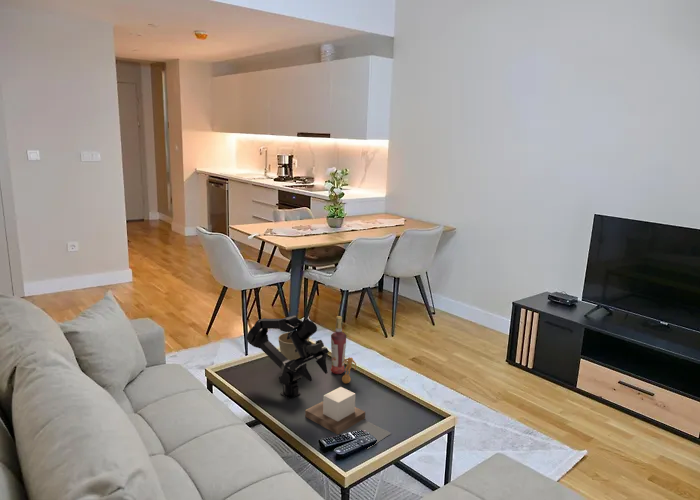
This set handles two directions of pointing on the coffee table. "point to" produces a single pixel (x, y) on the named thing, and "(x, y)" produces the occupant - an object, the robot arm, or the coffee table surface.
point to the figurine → (346, 377)
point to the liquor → (338, 348)
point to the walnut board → (335, 426)
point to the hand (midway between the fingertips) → (319, 377)
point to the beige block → (339, 403)
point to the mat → (369, 430)
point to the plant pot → (288, 347)
